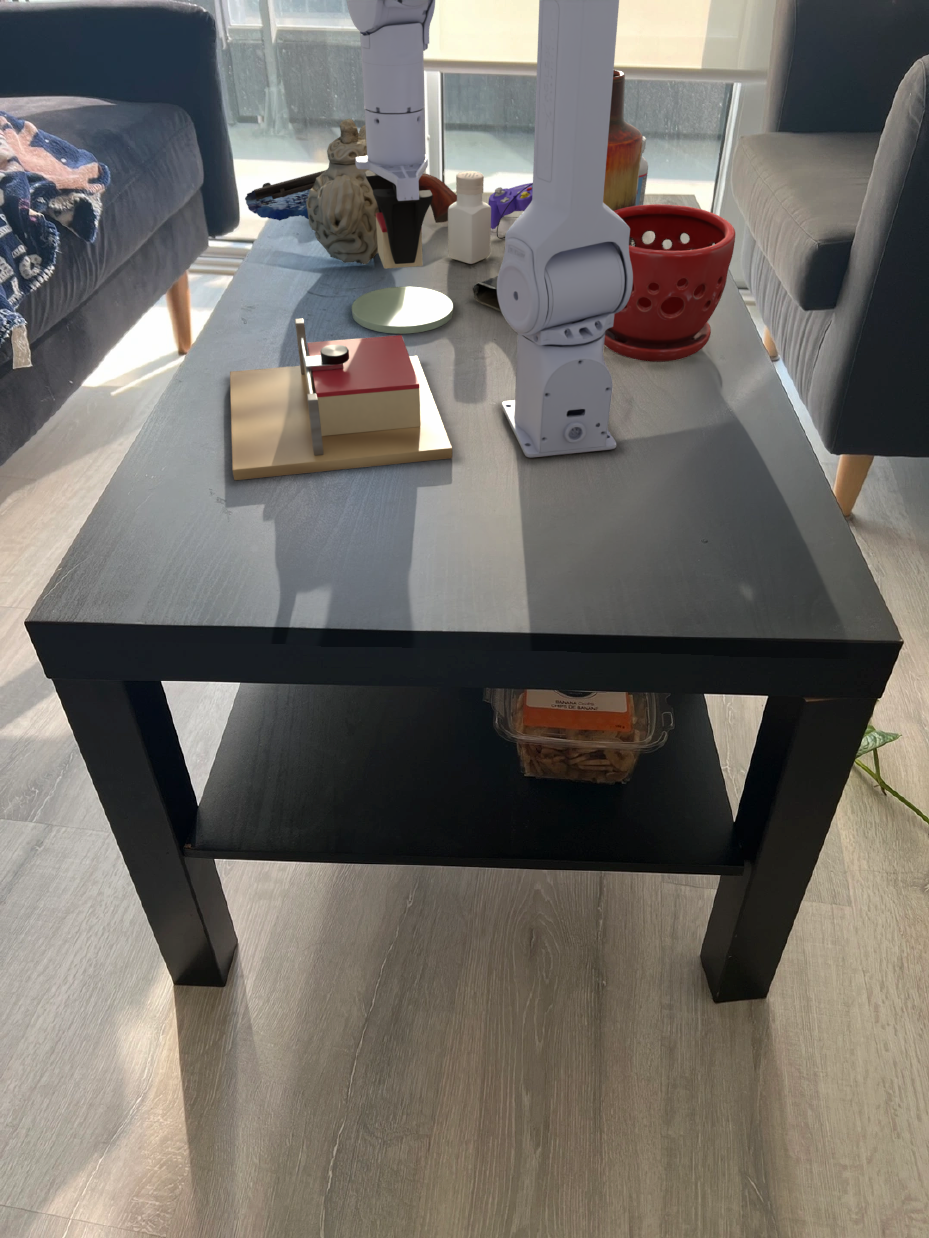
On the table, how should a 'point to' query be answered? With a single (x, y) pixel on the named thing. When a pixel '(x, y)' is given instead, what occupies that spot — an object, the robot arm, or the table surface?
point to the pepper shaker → (469, 220)
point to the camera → (487, 293)
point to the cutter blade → (324, 360)
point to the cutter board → (316, 427)
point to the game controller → (509, 202)
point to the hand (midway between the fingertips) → (400, 253)
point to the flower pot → (671, 282)
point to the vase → (621, 153)
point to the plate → (402, 310)
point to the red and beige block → (367, 387)
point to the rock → (279, 205)
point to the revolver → (426, 182)
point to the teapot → (345, 201)
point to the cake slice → (385, 246)
